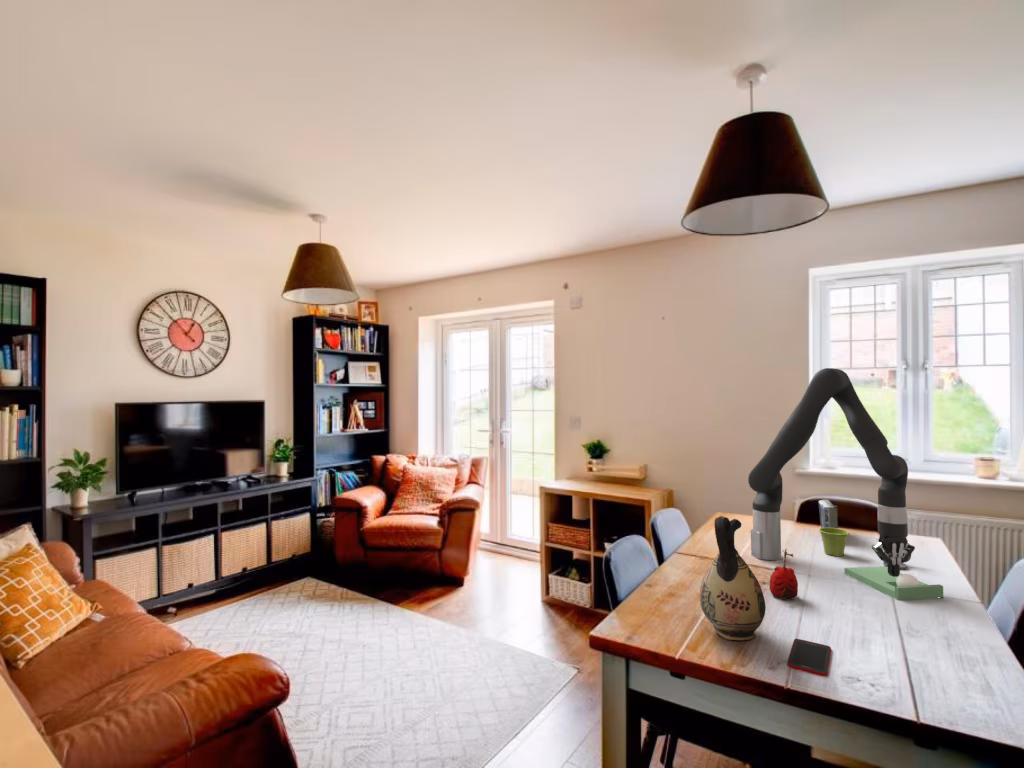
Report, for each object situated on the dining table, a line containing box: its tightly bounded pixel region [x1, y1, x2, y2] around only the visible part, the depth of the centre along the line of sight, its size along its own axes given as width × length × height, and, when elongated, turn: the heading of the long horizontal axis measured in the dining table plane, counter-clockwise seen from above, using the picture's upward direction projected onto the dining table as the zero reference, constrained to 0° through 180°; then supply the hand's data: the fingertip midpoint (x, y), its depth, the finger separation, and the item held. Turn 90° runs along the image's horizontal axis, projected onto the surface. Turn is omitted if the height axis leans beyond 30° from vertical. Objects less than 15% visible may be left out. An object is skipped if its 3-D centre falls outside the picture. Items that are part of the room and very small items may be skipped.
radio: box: [818, 498, 839, 542], centre depth 217 cm, size 23×9×15 cm, turn 147°
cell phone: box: [786, 638, 832, 677], centre depth 119 cm, size 8×15×1 cm, turn 145°
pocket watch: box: [882, 554, 912, 570], centre depth 179 cm, size 8×8×10 cm
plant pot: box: [818, 527, 849, 557], centre depth 193 cm, size 9×9×9 cm
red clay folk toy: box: [768, 548, 799, 601], centre depth 155 cm, size 8×7×15 cm
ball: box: [896, 573, 919, 586], centre depth 156 cm, size 6×6×6 cm
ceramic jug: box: [699, 515, 767, 649], centre depth 132 cm, size 17×15×30 cm
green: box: [843, 565, 944, 601], centre depth 162 cm, size 14×22×4 cm, turn 4°
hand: (893, 575), depth 161 cm, fingers closed
